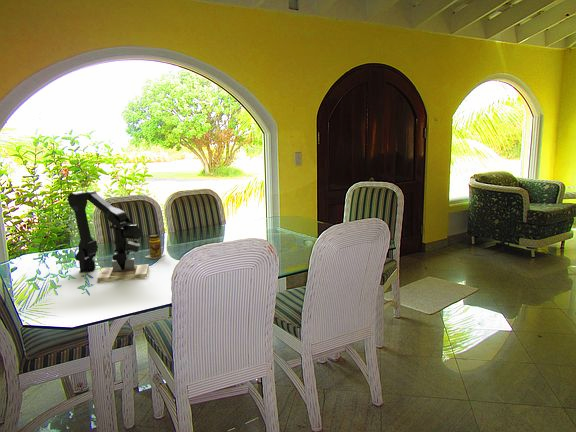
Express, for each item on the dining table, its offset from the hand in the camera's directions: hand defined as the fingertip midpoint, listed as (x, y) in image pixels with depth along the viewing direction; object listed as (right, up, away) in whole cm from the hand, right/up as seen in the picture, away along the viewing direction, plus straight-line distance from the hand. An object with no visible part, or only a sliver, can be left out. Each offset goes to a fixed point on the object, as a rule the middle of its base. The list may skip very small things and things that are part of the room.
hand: (123, 268), depth 223 cm
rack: (0, -3, +1) cm, 3 cm away
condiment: (+7, +3, +30) cm, 31 cm away
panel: (0, -2, +1) cm, 2 cm away
